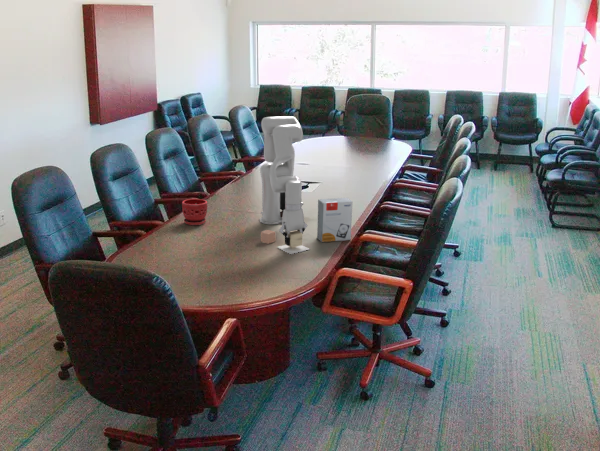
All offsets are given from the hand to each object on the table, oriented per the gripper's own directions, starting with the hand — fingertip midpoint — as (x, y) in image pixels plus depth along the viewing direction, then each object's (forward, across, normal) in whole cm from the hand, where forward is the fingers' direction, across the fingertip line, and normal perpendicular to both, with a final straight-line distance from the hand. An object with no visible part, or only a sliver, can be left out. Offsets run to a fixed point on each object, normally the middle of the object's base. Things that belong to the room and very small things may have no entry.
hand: (293, 242), depth 309 cm
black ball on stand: (+3, -29, -47) cm, 55 cm away
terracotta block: (+3, +4, -16) cm, 17 cm away
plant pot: (+3, +20, -63) cm, 66 cm away
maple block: (+1, 0, 0) cm, 1 cm away
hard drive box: (+3, -25, -1) cm, 25 cm away
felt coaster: (+3, 0, 0) cm, 3 cm away
